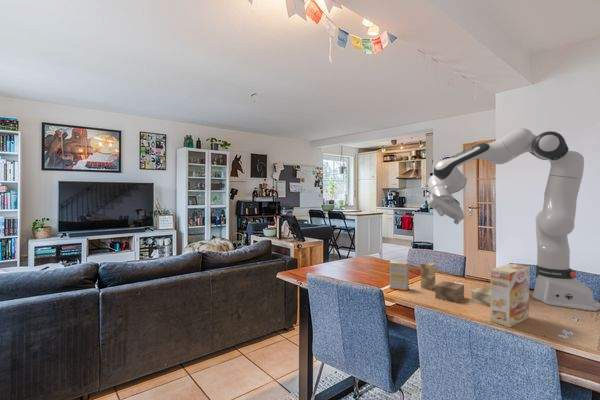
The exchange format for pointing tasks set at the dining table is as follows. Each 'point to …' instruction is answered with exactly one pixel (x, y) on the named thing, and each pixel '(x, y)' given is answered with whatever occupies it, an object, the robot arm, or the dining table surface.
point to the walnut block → (449, 291)
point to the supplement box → (399, 275)
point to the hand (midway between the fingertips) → (449, 219)
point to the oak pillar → (428, 276)
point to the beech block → (482, 296)
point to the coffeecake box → (509, 294)
